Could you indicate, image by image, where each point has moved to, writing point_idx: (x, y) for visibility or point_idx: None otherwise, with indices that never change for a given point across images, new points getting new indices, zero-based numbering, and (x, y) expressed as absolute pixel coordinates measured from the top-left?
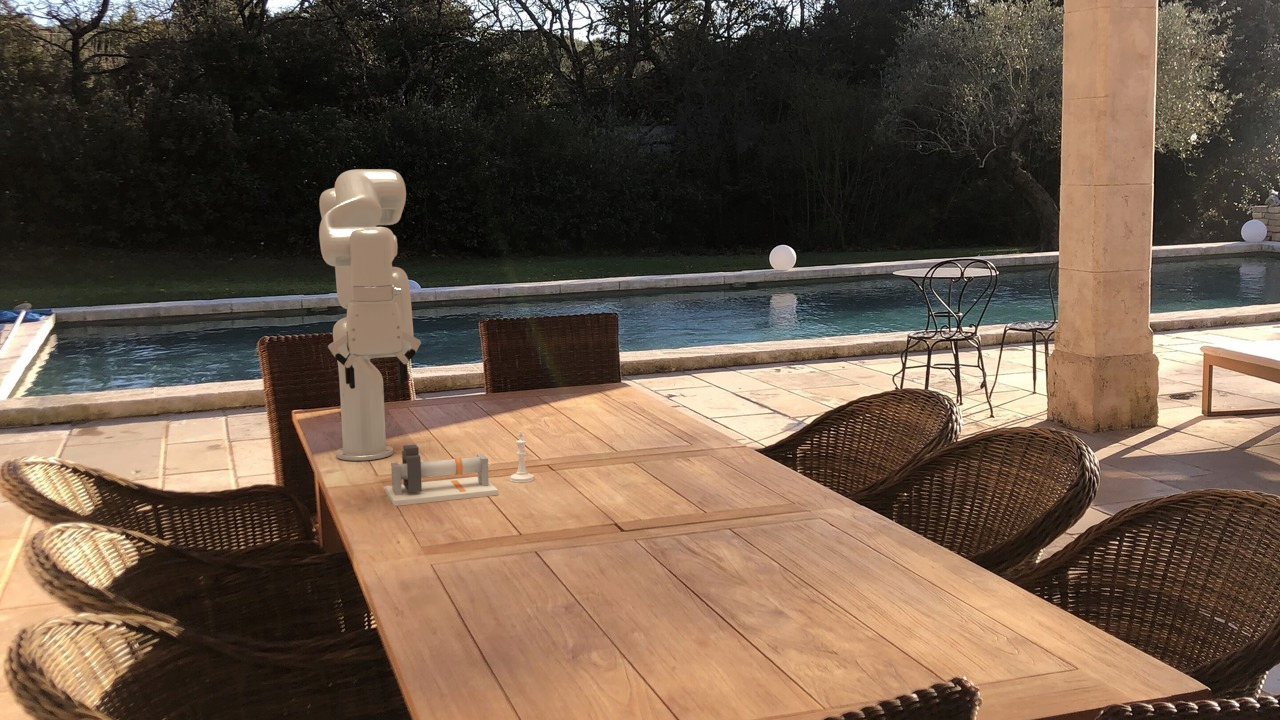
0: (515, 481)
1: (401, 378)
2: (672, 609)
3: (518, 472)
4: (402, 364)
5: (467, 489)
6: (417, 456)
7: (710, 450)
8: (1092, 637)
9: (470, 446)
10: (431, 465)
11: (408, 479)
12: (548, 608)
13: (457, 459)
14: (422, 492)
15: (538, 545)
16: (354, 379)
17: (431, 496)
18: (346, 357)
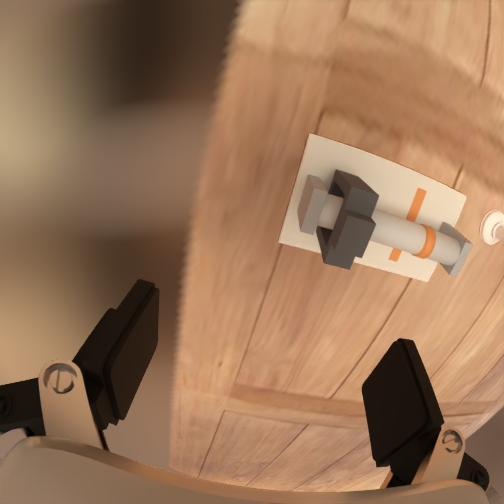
0: (480, 233)
1: (369, 409)
2: (300, 474)
3: (493, 233)
4: (388, 463)
5: (404, 253)
6: (346, 263)
7: None
8: None
9: None
10: (376, 241)
11: (318, 239)
12: (252, 461)
13: (424, 253)
14: None
15: (319, 418)
16: (142, 376)
17: None
18: (48, 421)
